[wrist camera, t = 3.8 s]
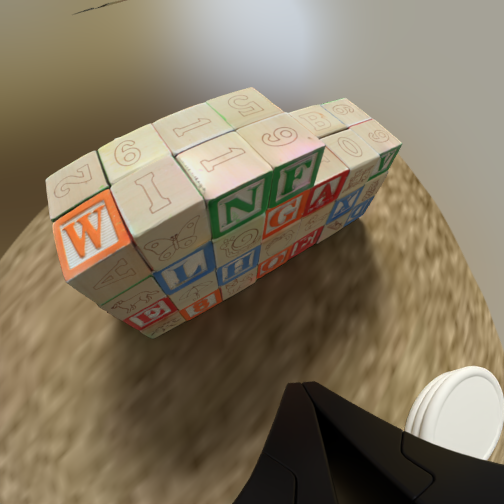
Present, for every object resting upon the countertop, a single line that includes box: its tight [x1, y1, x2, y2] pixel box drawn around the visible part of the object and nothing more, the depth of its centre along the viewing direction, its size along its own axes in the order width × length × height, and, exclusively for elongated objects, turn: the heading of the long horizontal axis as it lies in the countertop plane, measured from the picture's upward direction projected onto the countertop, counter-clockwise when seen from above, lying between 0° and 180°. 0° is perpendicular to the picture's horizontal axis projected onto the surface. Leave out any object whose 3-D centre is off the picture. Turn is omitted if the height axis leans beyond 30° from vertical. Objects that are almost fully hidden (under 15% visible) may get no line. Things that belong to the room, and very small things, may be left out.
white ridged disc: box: [404, 366, 504, 461], centre depth 15 cm, size 10×10×4 cm
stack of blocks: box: [46, 87, 402, 339], centre depth 18 cm, size 21×6×12 cm, turn 123°
